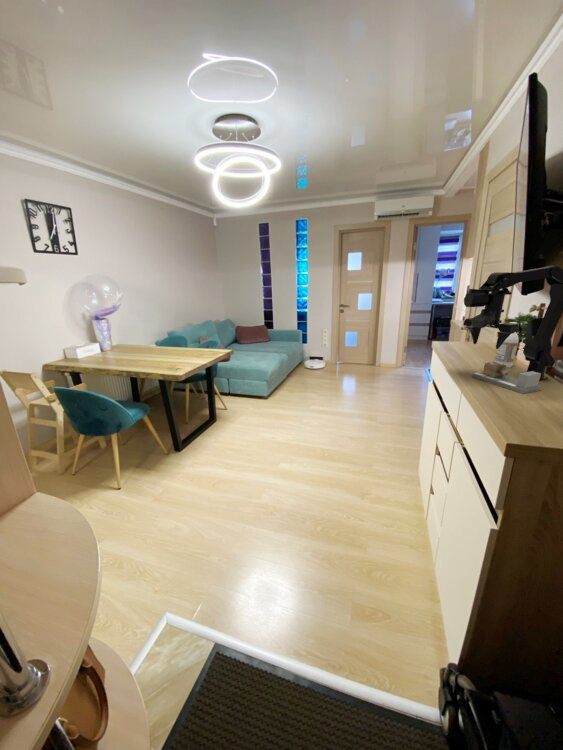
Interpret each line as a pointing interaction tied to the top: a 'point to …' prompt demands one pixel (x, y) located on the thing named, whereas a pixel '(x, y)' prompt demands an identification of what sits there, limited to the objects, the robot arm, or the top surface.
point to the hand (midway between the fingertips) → (485, 346)
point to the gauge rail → (514, 381)
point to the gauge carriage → (495, 369)
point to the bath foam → (507, 350)
